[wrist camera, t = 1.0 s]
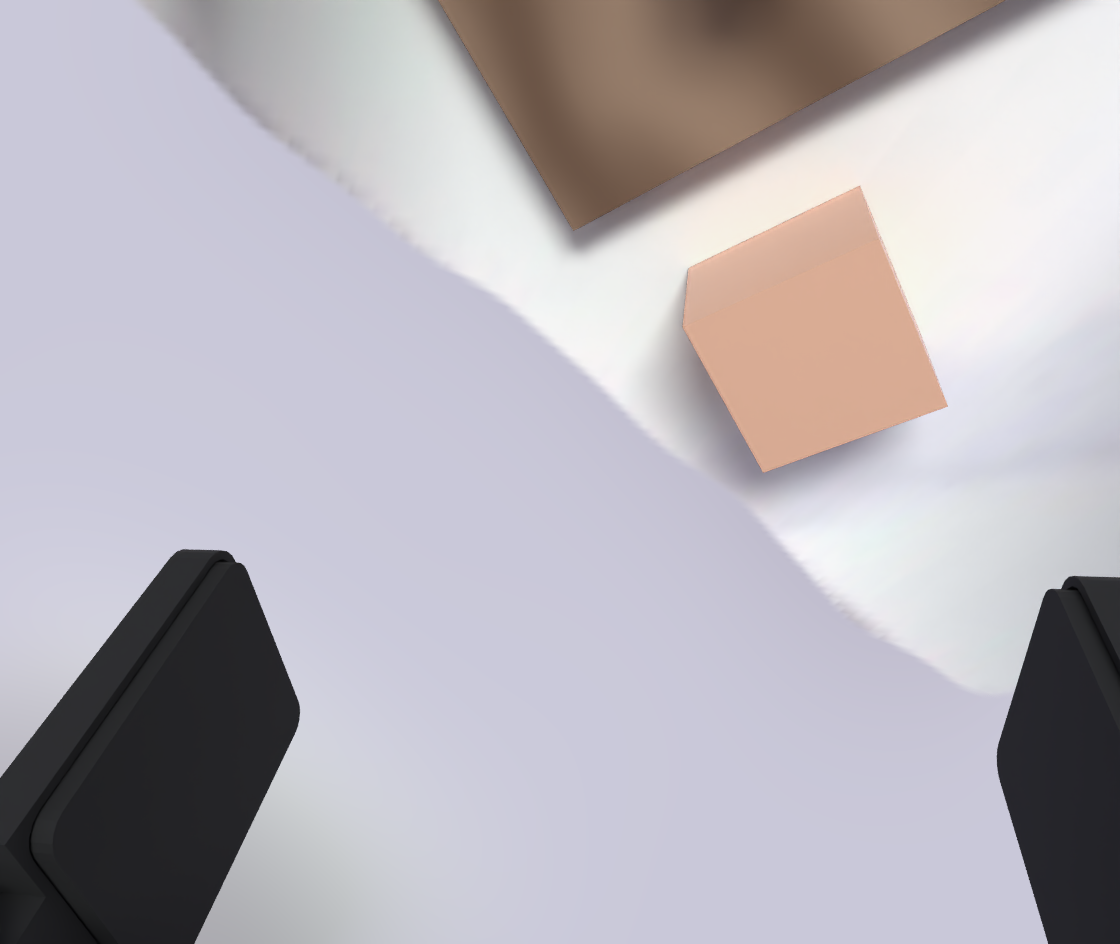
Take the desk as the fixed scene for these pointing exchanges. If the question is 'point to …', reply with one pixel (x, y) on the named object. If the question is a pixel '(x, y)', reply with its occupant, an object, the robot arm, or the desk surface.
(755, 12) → the board
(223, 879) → the robot arm
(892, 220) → the desk surface
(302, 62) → the desk surface
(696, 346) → the peach tapered block
